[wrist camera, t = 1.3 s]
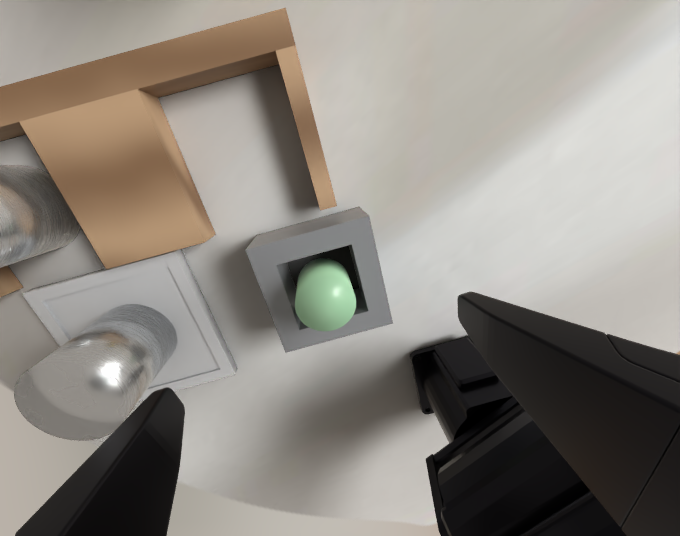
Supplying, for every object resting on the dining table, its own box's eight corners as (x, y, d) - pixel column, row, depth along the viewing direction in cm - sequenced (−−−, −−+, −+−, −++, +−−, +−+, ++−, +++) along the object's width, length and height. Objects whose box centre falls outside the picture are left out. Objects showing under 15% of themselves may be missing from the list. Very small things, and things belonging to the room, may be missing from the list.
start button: (354, 298, 18) (362, 322, 16) (306, 311, 18) (305, 337, 16) (342, 251, 17) (347, 269, 15) (290, 266, 17) (286, 285, 15)
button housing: (380, 298, 21) (392, 323, 18) (289, 323, 21) (285, 352, 18) (359, 206, 19) (369, 215, 16) (256, 235, 19) (245, 249, 16)
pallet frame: (334, 201, 19) (336, 205, 17) (8, 291, 19) (-25, 305, 17) (288, 26, 15) (285, 7, 14) (-107, 136, 15) (-165, 132, 14)
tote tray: (237, 367, 22) (234, 374, 22) (113, 401, 22) (106, 410, 22) (180, 248, 19) (174, 251, 18) (33, 288, 19) (21, 293, 18)
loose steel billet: (189, 355, 21) (144, 425, 15) (122, 373, 21) (53, 450, 15) (156, 295, 19) (92, 350, 14) (84, 315, 19) (-10, 378, 14)
